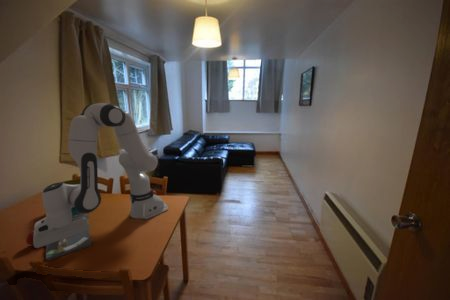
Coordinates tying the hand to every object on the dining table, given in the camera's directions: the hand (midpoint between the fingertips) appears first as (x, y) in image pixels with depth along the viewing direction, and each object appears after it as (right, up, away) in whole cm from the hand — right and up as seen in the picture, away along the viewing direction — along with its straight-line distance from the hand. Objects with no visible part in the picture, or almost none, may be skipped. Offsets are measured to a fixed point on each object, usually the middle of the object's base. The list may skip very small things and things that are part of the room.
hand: (65, 246), depth 97 cm
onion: (-18, -2, +4) cm, 18 cm away
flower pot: (-20, +7, +41) cm, 46 cm away
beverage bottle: (-10, +2, +21) cm, 24 cm away
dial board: (-3, -1, +6) cm, 6 cm away
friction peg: (-4, 0, +4) cm, 5 cm away
